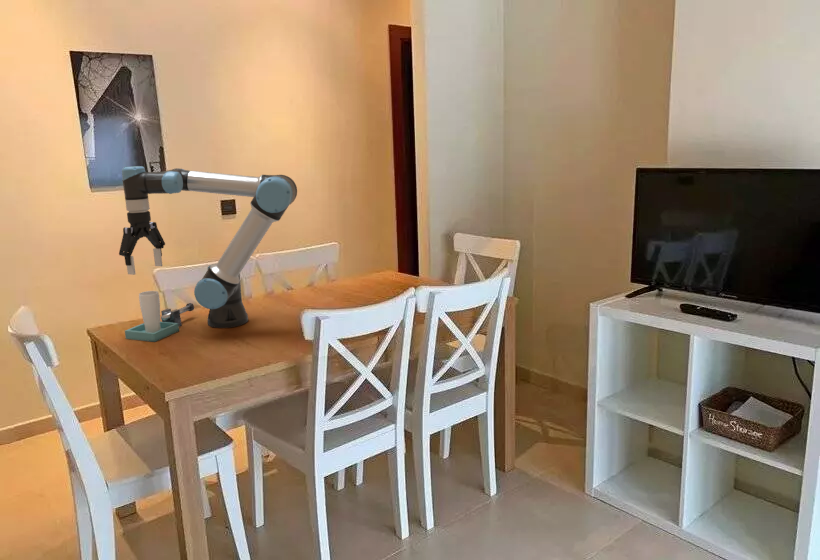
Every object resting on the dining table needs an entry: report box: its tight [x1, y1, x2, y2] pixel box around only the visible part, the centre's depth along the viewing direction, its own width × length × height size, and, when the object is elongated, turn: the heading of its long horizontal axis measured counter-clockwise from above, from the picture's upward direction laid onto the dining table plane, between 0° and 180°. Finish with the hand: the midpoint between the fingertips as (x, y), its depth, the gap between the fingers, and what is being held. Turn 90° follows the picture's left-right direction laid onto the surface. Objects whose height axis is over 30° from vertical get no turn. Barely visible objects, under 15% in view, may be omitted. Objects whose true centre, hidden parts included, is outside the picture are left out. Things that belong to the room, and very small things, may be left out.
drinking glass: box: [138, 290, 161, 333], centre depth 234 cm, size 7×7×15 cm
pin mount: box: [160, 307, 182, 328], centre depth 244 cm, size 6×4×6 cm, turn 70°
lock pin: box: [160, 302, 195, 321], centre depth 247 cm, size 3×16×3 cm, turn 160°
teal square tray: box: [124, 320, 180, 343], centre depth 235 cm, size 13×13×3 cm
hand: (145, 270), depth 230 cm, fingers open, 13 cm apart
